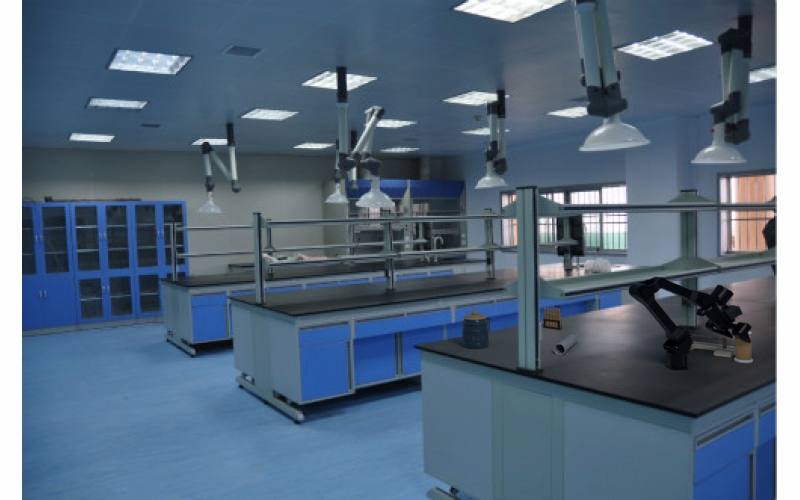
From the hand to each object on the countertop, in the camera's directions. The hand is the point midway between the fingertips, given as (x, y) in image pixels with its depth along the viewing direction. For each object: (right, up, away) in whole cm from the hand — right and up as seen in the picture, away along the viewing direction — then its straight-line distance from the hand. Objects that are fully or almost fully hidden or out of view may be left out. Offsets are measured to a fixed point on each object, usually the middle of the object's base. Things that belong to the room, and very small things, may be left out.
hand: (741, 339), depth 212 cm
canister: (-98, -11, +48) cm, 110 cm away
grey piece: (-3, -8, +19) cm, 21 cm away
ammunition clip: (-53, -7, +78) cm, 94 cm away
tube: (-58, -10, +35) cm, 68 cm away
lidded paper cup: (+1, -8, +1) cm, 9 cm away
